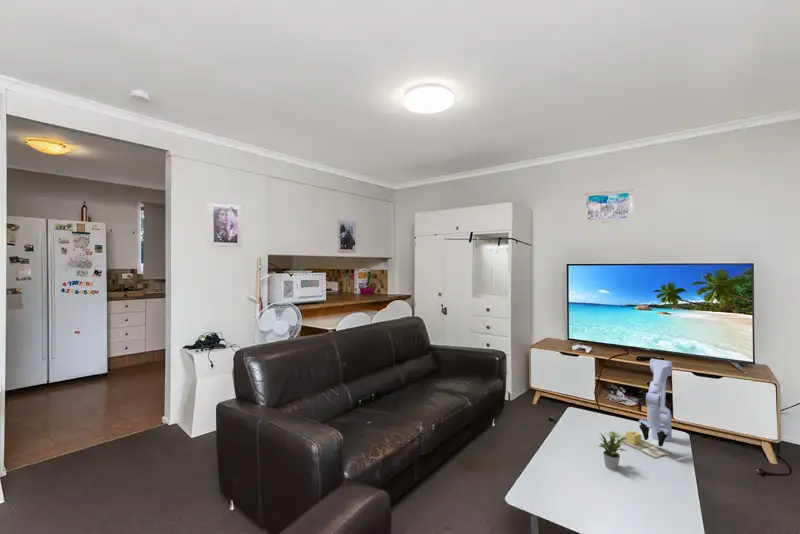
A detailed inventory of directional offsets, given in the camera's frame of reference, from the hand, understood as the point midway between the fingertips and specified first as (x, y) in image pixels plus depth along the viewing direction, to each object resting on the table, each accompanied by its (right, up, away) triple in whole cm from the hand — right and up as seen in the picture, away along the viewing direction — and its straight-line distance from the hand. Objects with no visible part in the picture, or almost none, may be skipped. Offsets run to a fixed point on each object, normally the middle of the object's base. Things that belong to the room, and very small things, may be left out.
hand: (653, 442), depth 200 cm
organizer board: (-4, -5, +9) cm, 11 cm away
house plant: (-29, -6, -15) cm, 33 cm away
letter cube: (-4, -5, +10) cm, 12 cm away
